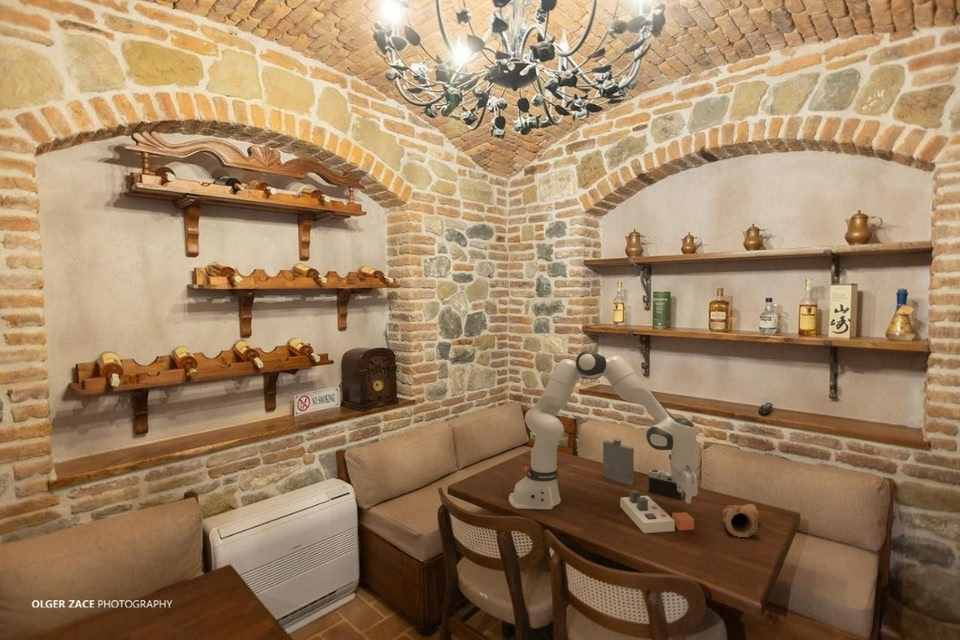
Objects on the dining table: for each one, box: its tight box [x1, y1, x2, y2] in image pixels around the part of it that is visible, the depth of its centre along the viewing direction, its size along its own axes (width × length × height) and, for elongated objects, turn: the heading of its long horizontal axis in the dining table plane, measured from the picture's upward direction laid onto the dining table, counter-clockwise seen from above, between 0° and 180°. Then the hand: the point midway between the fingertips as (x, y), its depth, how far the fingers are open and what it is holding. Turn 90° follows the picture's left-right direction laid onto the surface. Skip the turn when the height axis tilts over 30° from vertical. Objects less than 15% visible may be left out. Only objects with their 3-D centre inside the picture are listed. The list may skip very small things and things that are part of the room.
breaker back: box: [629, 489, 641, 503], centre depth 194 cm, size 3×3×4 cm
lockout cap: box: [671, 511, 695, 531], centre depth 181 cm, size 6×6×4 cm
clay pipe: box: [722, 503, 760, 538], centre depth 178 cm, size 19×11×15 cm
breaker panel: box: [619, 495, 676, 534], centre depth 187 cm, size 12×22×4 cm, turn 6°
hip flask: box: [602, 438, 635, 486], centre depth 225 cm, size 16×4×20 cm, turn 42°
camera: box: [648, 468, 684, 501], centre depth 210 cm, size 14×8×10 cm, turn 52°
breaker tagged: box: [645, 513, 656, 520], centre depth 180 cm, size 3×3×4 cm
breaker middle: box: [637, 497, 648, 511], centre depth 187 cm, size 3×3×4 cm
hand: (683, 497), depth 180 cm, fingers open, 8 cm apart
